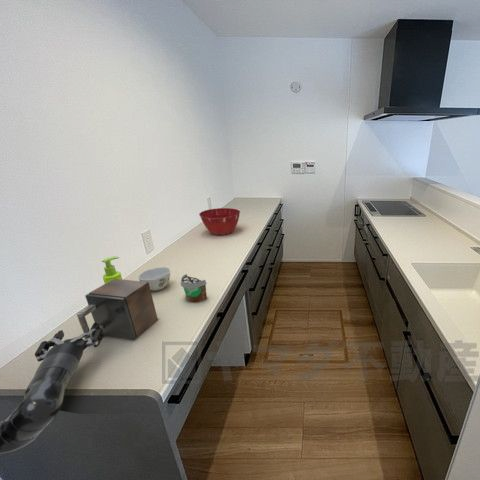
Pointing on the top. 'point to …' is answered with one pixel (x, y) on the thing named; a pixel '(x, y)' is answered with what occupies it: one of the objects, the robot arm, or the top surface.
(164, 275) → the teacup
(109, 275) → the soap dispenser
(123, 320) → the door
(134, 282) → the cupboard
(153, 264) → the top surface
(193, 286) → the food container
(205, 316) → the top surface
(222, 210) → the mixing bowl
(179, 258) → the top surface
